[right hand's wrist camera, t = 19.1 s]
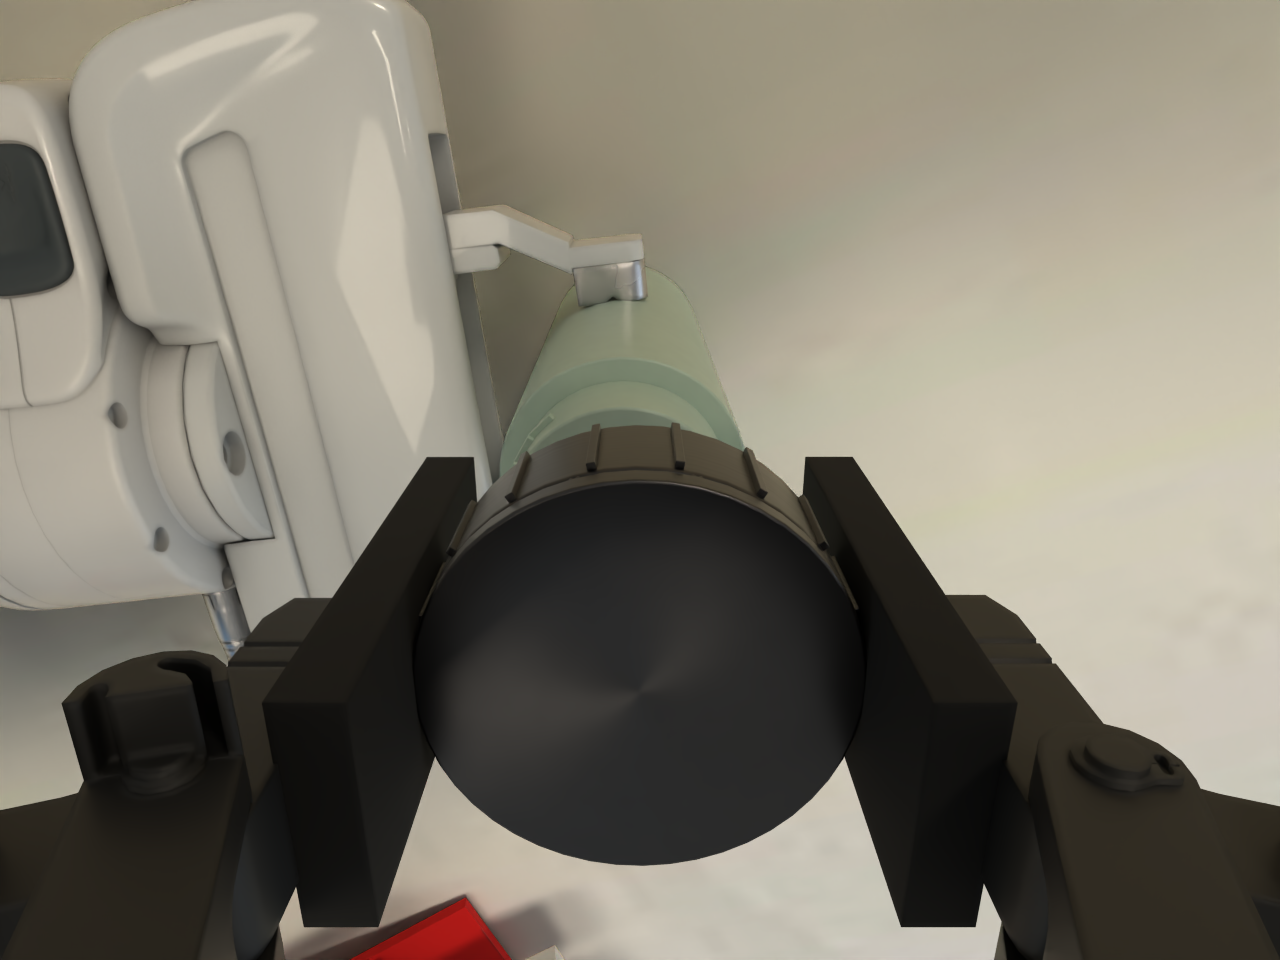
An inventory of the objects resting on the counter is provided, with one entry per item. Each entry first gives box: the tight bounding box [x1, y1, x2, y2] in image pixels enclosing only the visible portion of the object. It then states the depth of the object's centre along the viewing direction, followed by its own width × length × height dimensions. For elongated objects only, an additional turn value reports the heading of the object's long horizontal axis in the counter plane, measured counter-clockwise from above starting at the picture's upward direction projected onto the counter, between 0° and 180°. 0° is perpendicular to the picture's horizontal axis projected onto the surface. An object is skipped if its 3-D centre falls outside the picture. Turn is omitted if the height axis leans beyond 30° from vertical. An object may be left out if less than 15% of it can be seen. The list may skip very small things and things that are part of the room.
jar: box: [500, 267, 745, 477], centre depth 22 cm, size 5×5×15 cm
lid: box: [413, 422, 867, 866], centre depth 11 cm, size 6×6×2 cm
